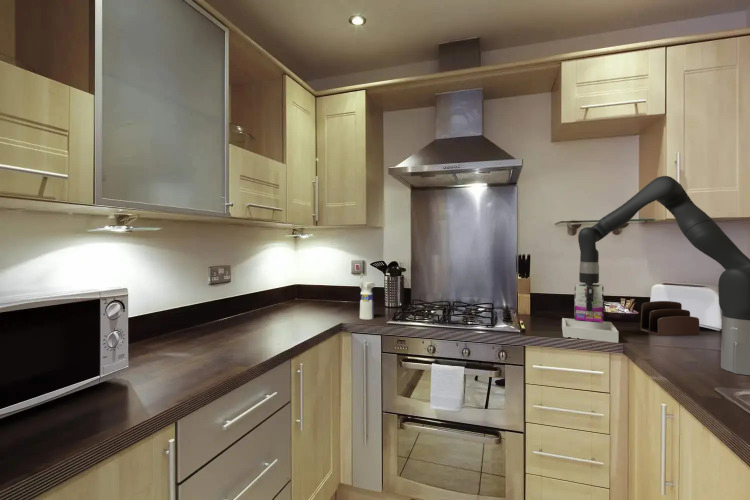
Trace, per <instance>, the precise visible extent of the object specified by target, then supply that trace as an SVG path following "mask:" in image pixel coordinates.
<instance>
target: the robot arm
mask: <svg viewBox="0 0 750 500" xmlns="http://www.w3.org/2000/svg"><path fill="white" fill-rule="evenodd" d="M655 201H656V202H658V203H660V205H662V206H663V207H664V208H665V209H666V210H667V211H669V213H671V214H672V216H673V217H674V219H675V220H676V224H677V226H678V228H679V229H680V231H681V233H682V234H683V235H684V237H685V238H686V240H688V241H689V243H690V244H691V245H693V247H694V248H695V249H696V250H699V252H701V253H703V254H704V255H705V256H707V257H709V258H711V259H712V260H714V261H715V262H716V263H719V265H720V266H721V267H723V269H724V270H723V271H722V273H721V274H720V276H719V279H718V284H717V285H718V286H717V287H718V305H719V307H720V310H721V342H720V343H721V345H720V346H721V347H720V368H721V369H723V370H725V371H727V372H731V373H733V374H736V375H746V376H750V258H749V257H748V256H747V255H746V254H745V253H743V251H742V250H741V249H739V247H738V246H737V245H736V243H734V242H733V240H731V238H730V237H729V236H728V235H727V234H726V233H725V232H724V231H723V230H722V228H721V227H720V226H719V225H718V224H717V222H715V221H714V219H712V218H711V217H710V216H709V215H708V214H707V213H706V212H705V211H704V210H702V209H701V208H700V207H698V206H697V205H696V204H695V203H694V202H693V201H692V199H691V197H690V196H689V195H688V194H687V192H686V190H685V188H684V187H683V186H682V185H681V183H679V182H678V181H677V180H675V178H673V177H672V176H669V175H662V176H658V177H656V178H654V179H653V180H651V181H650V182H648V183H647V185H645V186H644V187H642V189H640V190H639V191H638V192H637V193H636V194H634V195H633V196H631V198H630V199H628V200H626V202H624V203H623V204H622V205H620V206H618V208H616V209H615V210H612V211H611V212H609V213H608V214H606V215H605V216H602V217H601V218H600V219H599V220H598V222H597V223H596V224H594V225H592V226H590V227H589V226H586V227H583V228H581V229H580V230H579V232H578V237H577V239H578V246H579V251H580V256H579V257H580V259H579V271H578V272H579V278H578V279H579V283H580V284H586V285H587V290H586V292H587V295H586V292H585V297H586V310H587V311H592V303H593V301H594V300H593V297H594V289H593V285H592V284H599V282H600V265H599V263H600V262H599V259H600V258H599V250H598V249H597V245H596V243H597V242H600V241H601V240H602V239H604V238H605V237H606V236H608V235H609V234H610V233H612V232H614V231H616V230H617V229H619V228H620V227H623V226H624V225H626V224H627V223H628V222H629V221H631V220H632V219H633V218H634V216H635V215H636V214H637V213H638V212H639V211H640V210H642V209H643V208H644V207H645V206H647V205H649V204H651V203H653V202H655ZM588 297H591V299H588Z"/></svg>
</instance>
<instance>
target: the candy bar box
mask: <svg viewBox="0 0 750 500" xmlns="http://www.w3.org/2000/svg"><path fill="white" fill-rule="evenodd" d="M592 285H593V289H594V297H593V300H594V301H593V303H592V311H587V310H586V297H585V292H586V290H587V285H586V284H585V283H574V319H575V321H586V322H598V323H603V322H604V298H605V297H604V289H605V288H604V285H603V284H599V283H593V284H592ZM586 295H587V292H586ZM588 299H591V297H588Z"/></svg>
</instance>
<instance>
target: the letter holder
mask: <svg viewBox="0 0 750 500" xmlns="http://www.w3.org/2000/svg"><path fill="white" fill-rule="evenodd" d="M640 307H641V308H640V331H641V332H643V333H648V334H650V335H654V336H658V337H661V336H662V337H663V336H664V337H666V336H667V337H671V336H700V318H698V317H697V316H691V311H690V310H688V309H683V308H682V307H683V306H682V303H681V302H678V301H672V300H658V301H657V300H656V301H655V300H654V301H647V302H643V303H642V304H641V306H640Z"/></svg>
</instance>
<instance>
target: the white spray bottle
mask: <svg viewBox="0 0 750 500" xmlns="http://www.w3.org/2000/svg"><path fill="white" fill-rule="evenodd" d="M359 276H360V279H361V278H362V279H364V276H365V274H364V273H363V272H361V273H359ZM359 283H360V284H359V288H360V300H359V319H361V320H373V319H374V318H375V317H374V314H375V313H374V300H373V295H374V293H373V288H375V287H376V283H375V282H374V281H360V282H359Z"/></svg>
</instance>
